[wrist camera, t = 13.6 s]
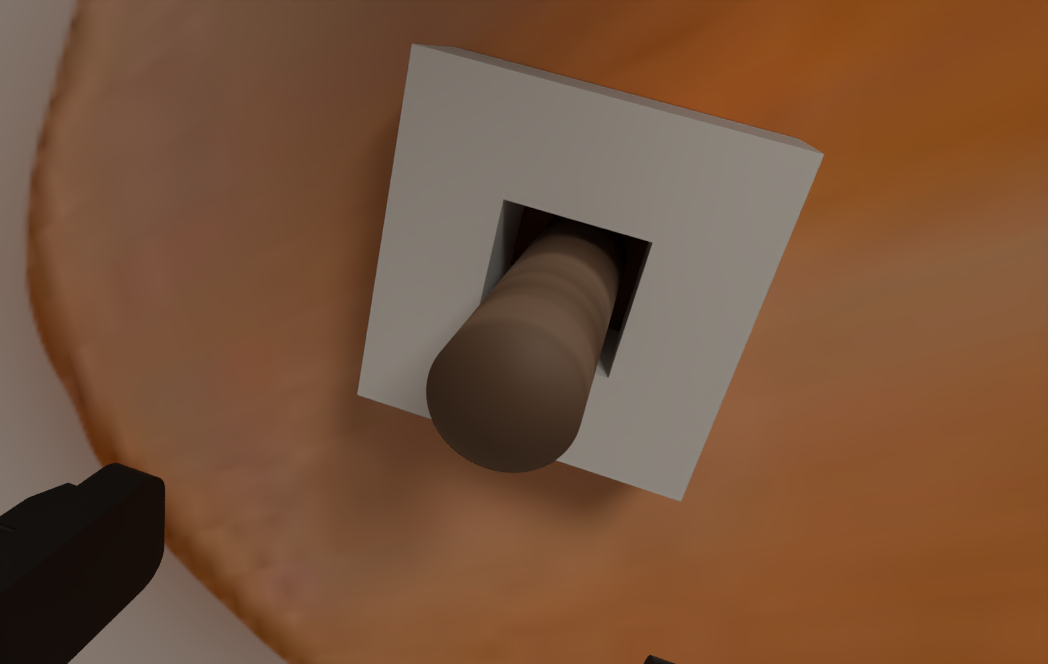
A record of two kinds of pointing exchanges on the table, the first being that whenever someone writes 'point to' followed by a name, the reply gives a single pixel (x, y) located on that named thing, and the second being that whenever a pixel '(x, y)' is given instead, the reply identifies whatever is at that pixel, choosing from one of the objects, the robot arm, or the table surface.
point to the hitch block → (597, 199)
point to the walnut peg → (529, 351)
